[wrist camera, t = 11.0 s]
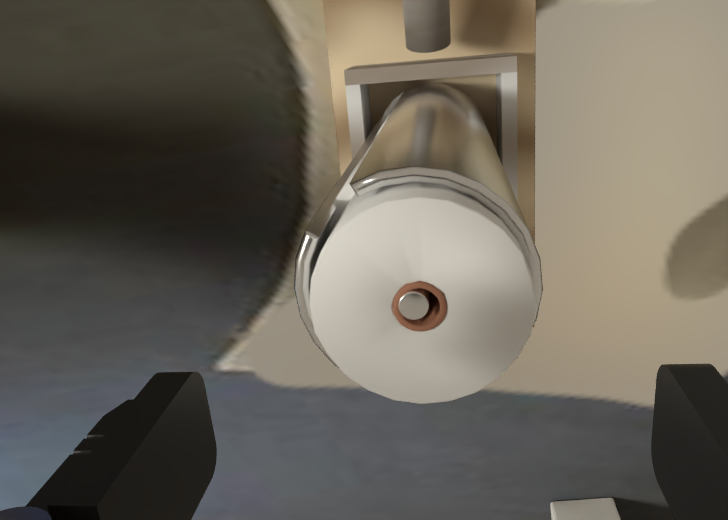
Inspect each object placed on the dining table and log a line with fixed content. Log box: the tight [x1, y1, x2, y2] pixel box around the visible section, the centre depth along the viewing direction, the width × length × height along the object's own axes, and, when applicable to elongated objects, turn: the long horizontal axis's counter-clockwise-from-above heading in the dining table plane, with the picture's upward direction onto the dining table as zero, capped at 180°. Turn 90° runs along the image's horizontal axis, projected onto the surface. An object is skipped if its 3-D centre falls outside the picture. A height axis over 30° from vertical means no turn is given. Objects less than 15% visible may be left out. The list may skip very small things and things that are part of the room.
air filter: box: [294, 83, 543, 404], centre depth 27 cm, size 6×6×25 cm
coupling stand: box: [323, 0, 536, 327], centre depth 37 cm, size 26×12×8 cm, turn 5°
